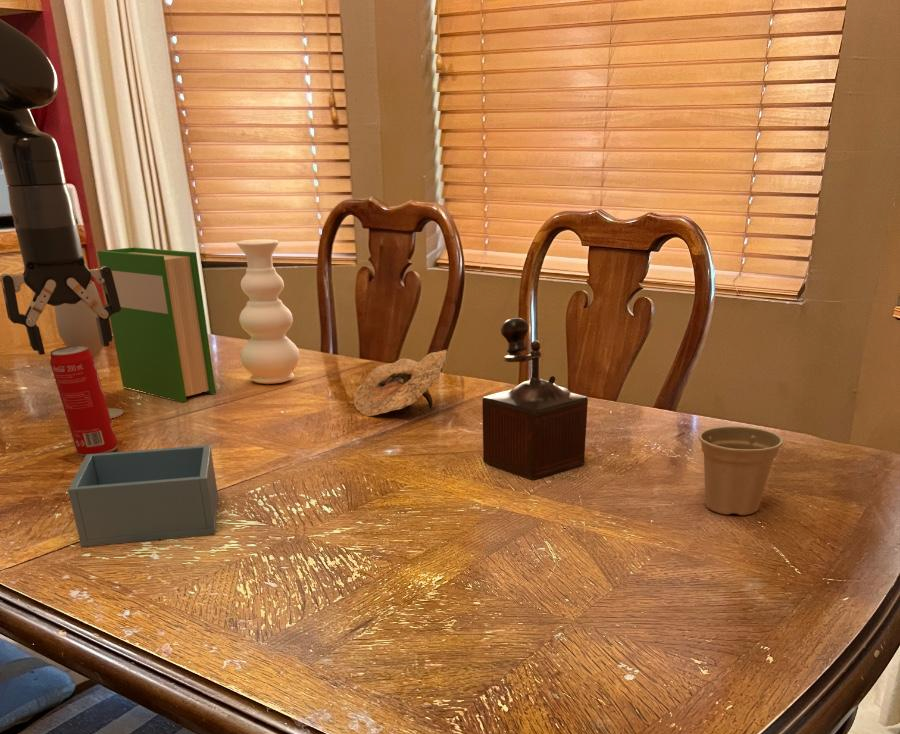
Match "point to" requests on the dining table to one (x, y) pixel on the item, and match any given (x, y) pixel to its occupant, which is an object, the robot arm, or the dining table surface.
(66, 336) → the wineglass
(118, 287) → the hardback book
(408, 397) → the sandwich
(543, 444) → the manual coffee grinder
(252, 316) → the vase
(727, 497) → the flower pot
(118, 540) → the open box
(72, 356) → the beverage can
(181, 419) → the dining table surface
